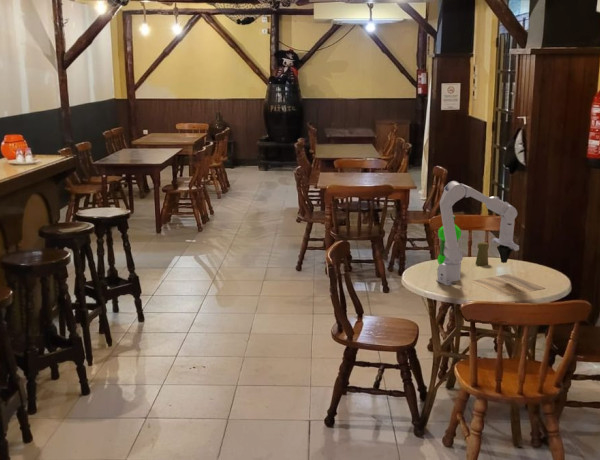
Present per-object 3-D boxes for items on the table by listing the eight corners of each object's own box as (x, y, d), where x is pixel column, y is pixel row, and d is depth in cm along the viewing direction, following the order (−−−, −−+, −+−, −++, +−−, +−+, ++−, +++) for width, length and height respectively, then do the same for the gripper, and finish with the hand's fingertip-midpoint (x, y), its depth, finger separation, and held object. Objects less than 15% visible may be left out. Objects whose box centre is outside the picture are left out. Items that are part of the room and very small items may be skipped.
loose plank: (532, 294, 278) (532, 290, 277) (496, 279, 297) (496, 276, 297) (545, 291, 281) (545, 288, 280) (508, 277, 300) (508, 273, 300)
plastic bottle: (444, 263, 322) (447, 212, 316) (463, 267, 314) (466, 216, 308) (432, 267, 315) (434, 215, 309) (451, 272, 308) (454, 219, 302)
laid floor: (505, 299, 271) (505, 296, 271) (469, 284, 291) (469, 280, 290) (531, 294, 278) (531, 291, 277) (494, 279, 297) (495, 276, 296)
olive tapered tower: (486, 262, 323) (487, 240, 320) (490, 266, 317) (491, 243, 314) (473, 262, 322) (475, 240, 320) (477, 266, 317) (479, 244, 314)
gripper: (525, 235, 284) (522, 265, 288) (502, 227, 297) (499, 257, 300) (513, 236, 281) (510, 267, 285) (489, 229, 294) (487, 258, 297)
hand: (503, 262), depth 292 cm, fingers closed
